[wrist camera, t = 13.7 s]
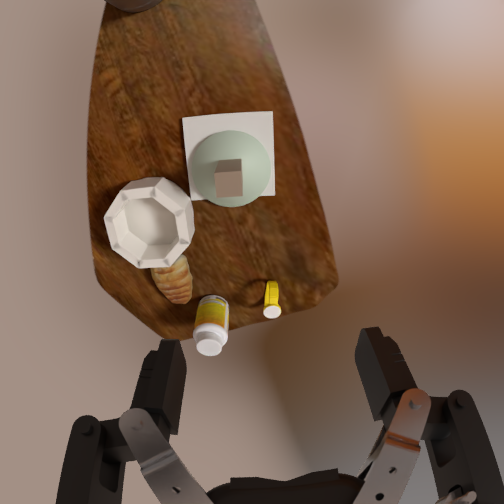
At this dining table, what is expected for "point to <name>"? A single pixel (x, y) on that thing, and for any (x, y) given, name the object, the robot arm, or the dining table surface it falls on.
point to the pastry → (174, 280)
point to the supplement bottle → (211, 325)
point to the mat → (209, 125)
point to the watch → (271, 300)
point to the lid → (231, 168)
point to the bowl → (150, 222)
